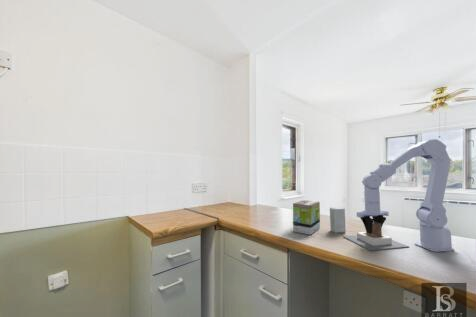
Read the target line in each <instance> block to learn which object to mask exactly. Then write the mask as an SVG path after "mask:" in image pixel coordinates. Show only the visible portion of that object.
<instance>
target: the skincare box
mask: <svg viewBox="0 0 476 317" xmlns="http://www.w3.org/2000/svg"><path fill="white" fill-rule="evenodd" d="M329 220H330V221H329V222H330V224H329V225H330V231H331V232H333V233H335V234H336V233H337V234H338V233H346V231H347V230H346V209H345V208H344V207H337V206H336V207H329Z"/></svg>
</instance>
